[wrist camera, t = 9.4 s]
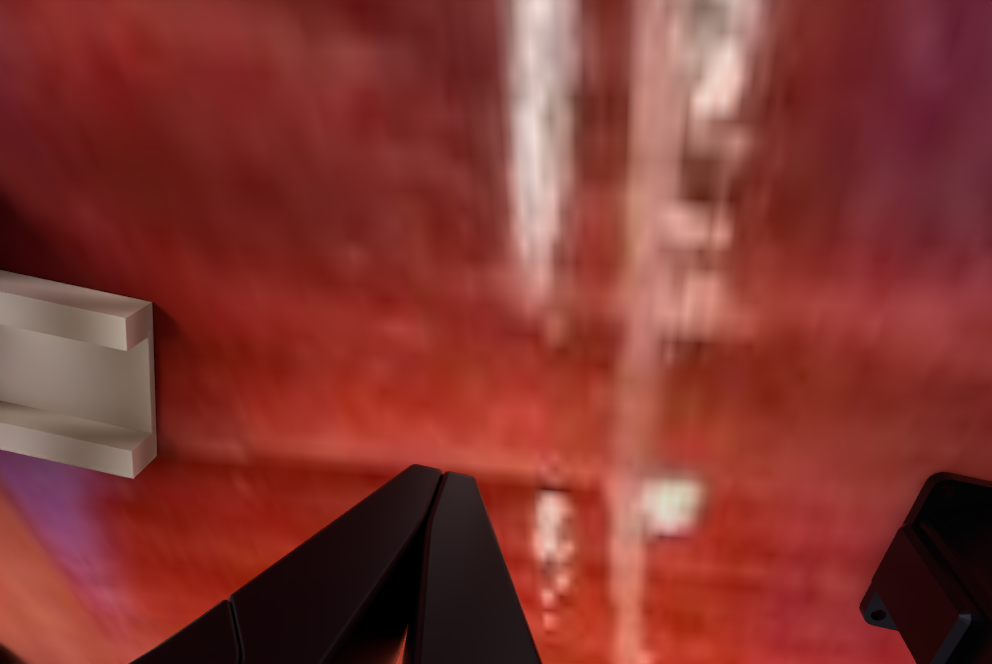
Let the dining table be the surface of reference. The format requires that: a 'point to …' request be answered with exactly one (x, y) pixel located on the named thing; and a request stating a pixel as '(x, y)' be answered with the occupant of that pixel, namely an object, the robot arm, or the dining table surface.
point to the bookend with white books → (76, 375)
